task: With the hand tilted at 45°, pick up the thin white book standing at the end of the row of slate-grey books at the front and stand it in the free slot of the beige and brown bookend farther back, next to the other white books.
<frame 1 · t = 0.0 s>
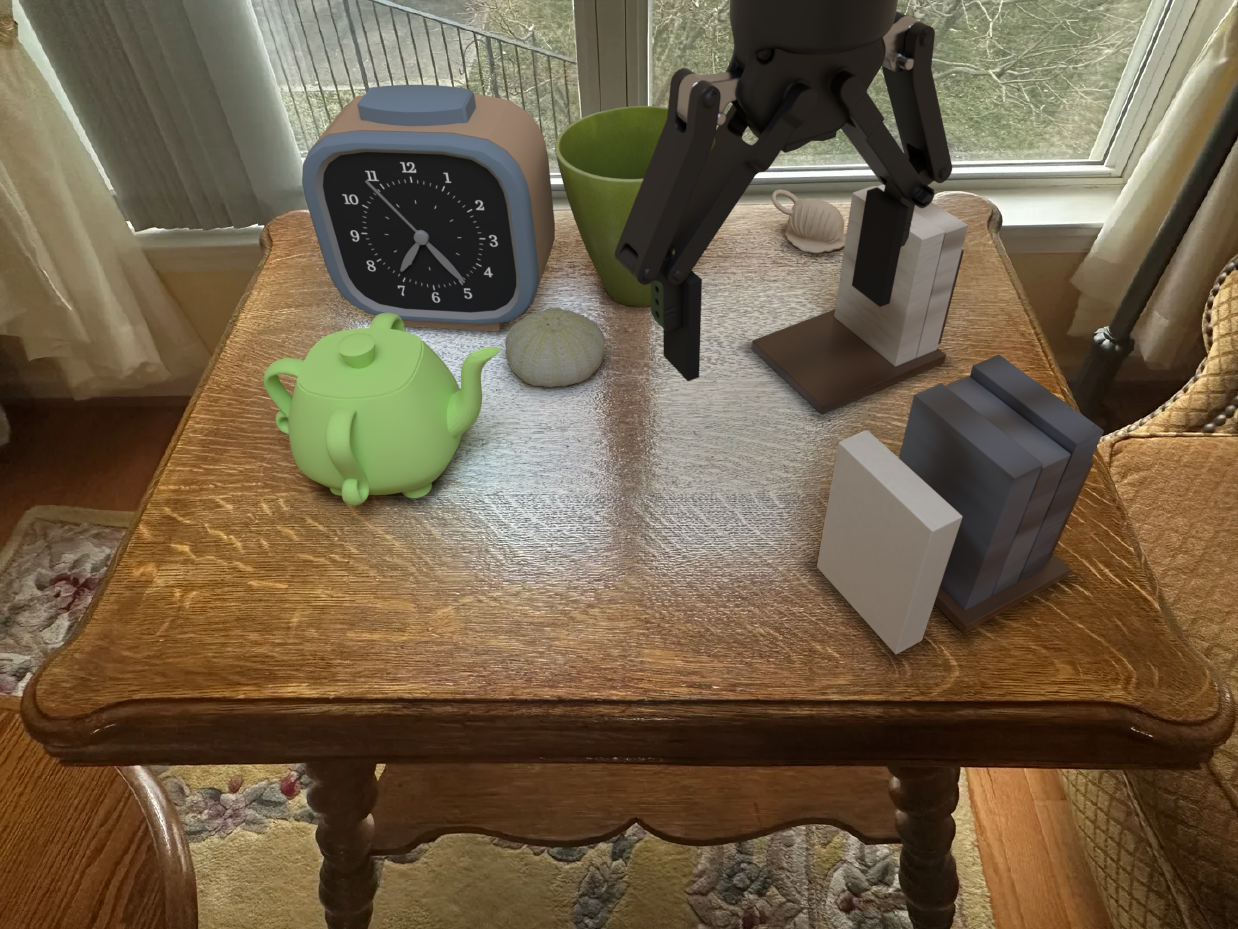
hand: (779, 329, 56), 22 cm above the table, tool pointing down, fingers open, 13 cm apart
decorative ornament: (808, 242, 103), on the table
beige and brown bookend: (846, 355, 88), on the table
white book: (867, 602, 68), on the table
grey rack: (962, 554, 71), on the table
sea urchin shell: (556, 365, 89), on the table
flower pot: (640, 288, 98), on the table
teapot: (403, 461, 81), on the table
alarm clock: (453, 307, 96), on the table
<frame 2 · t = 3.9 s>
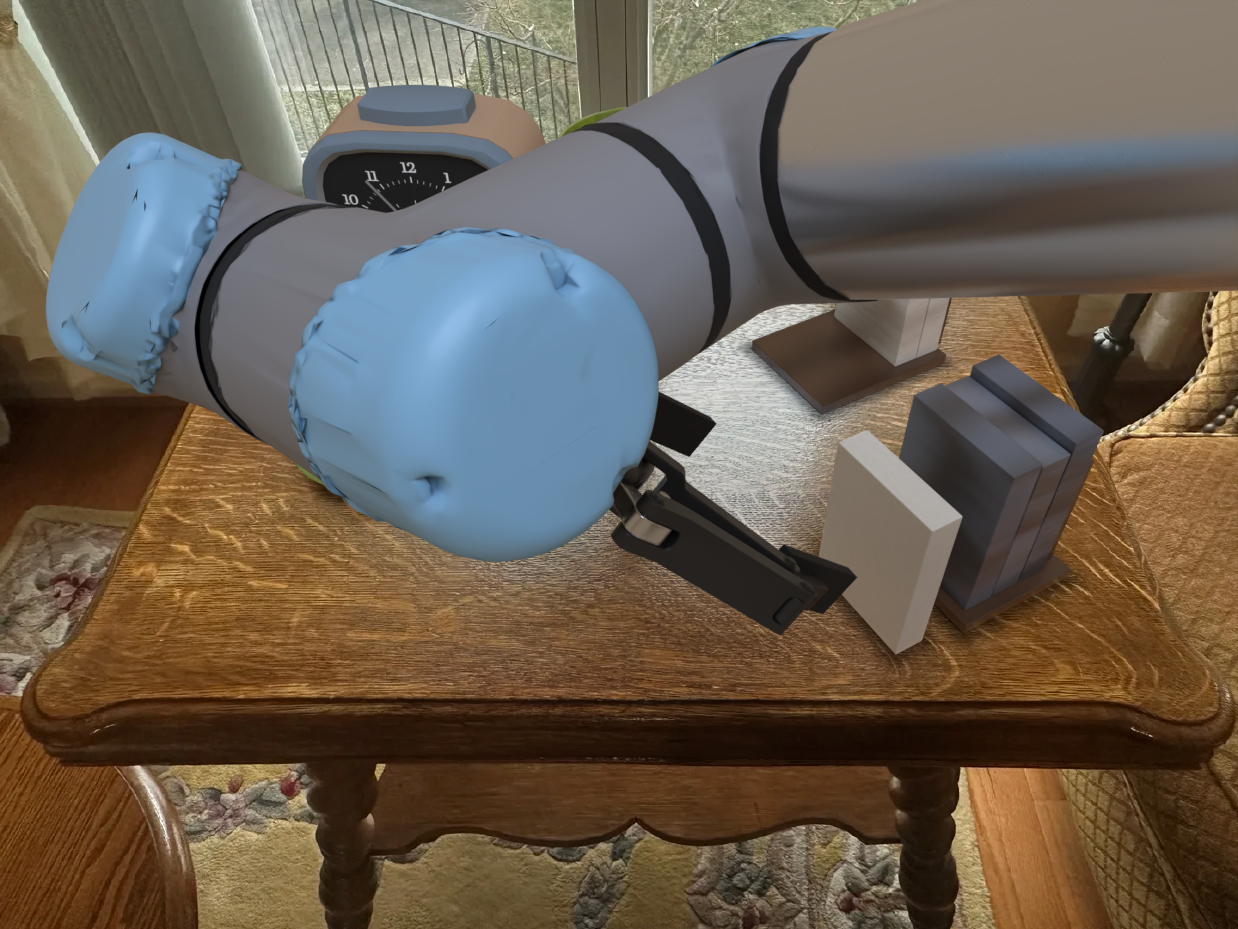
hand: (762, 508, 54), 16 cm above the table, tool tilted 45°, fingers open, 13 cm apart
nothing on the table moved.
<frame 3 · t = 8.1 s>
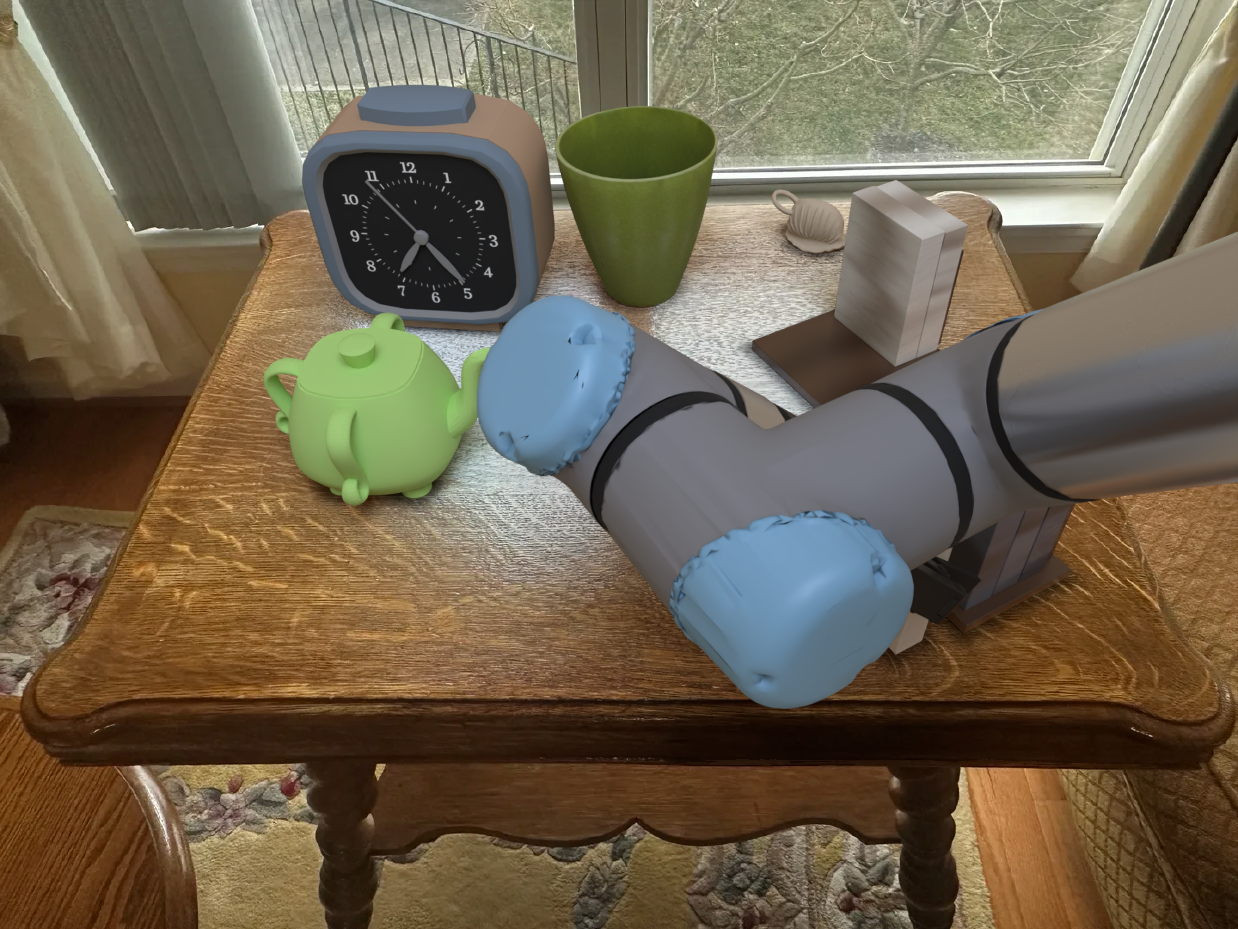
hand: (913, 542, 66), 5 cm above the table, tool tilted 45°, fingers closed on white book, 9 cm apart
white book: (867, 602, 68), on the table, touching gripper
everything else where it was.
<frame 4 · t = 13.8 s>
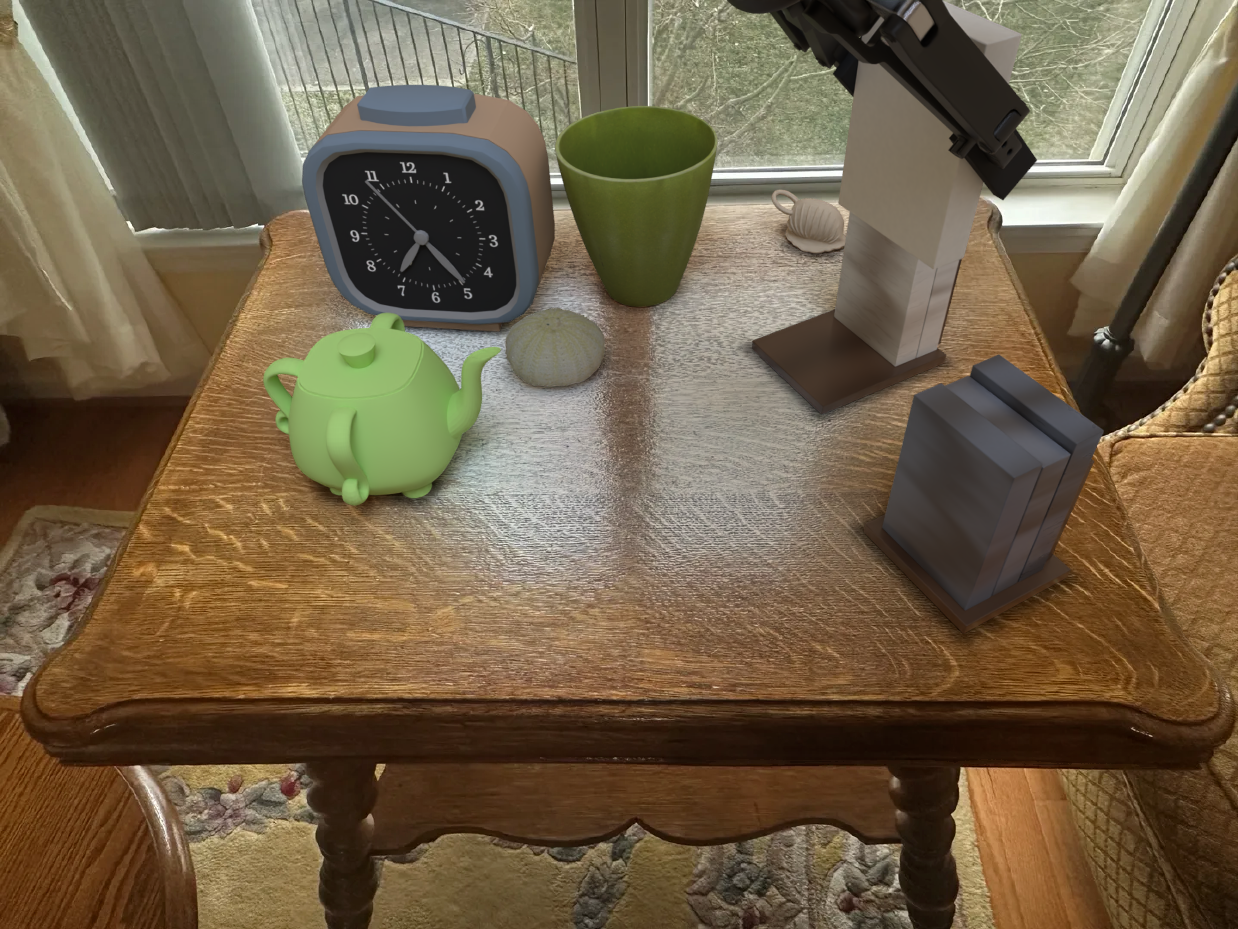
hand: (954, 143, 56), 29 cm above the table, tool tilted 45°, fingers closed on white book, 9 cm apart
white book: (898, 230, 58), point 24 cm above the table, touching gripper
everything else where it was.
when the fingers open (13 cm above the table, at t = 20.0 s): white book drops 5 cm, resting on beige and brown bookend.
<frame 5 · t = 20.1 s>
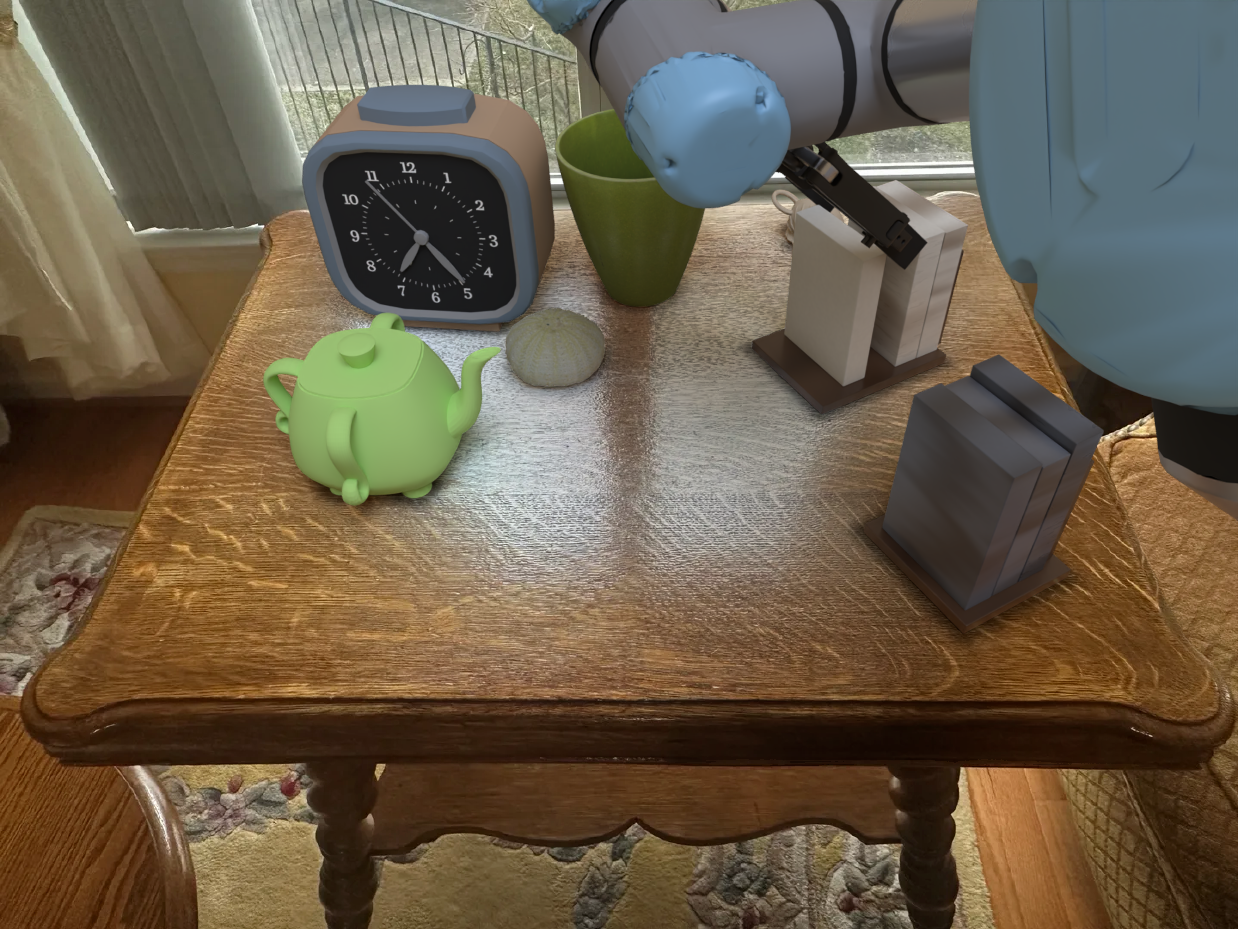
hand: (873, 225, 79), 13 cm above the table, tool tilted 45°, fingers open, 9 cm apart
white book: (823, 355, 87), point 1 cm above the table, touching beige and brown bookend
everything else where it was.
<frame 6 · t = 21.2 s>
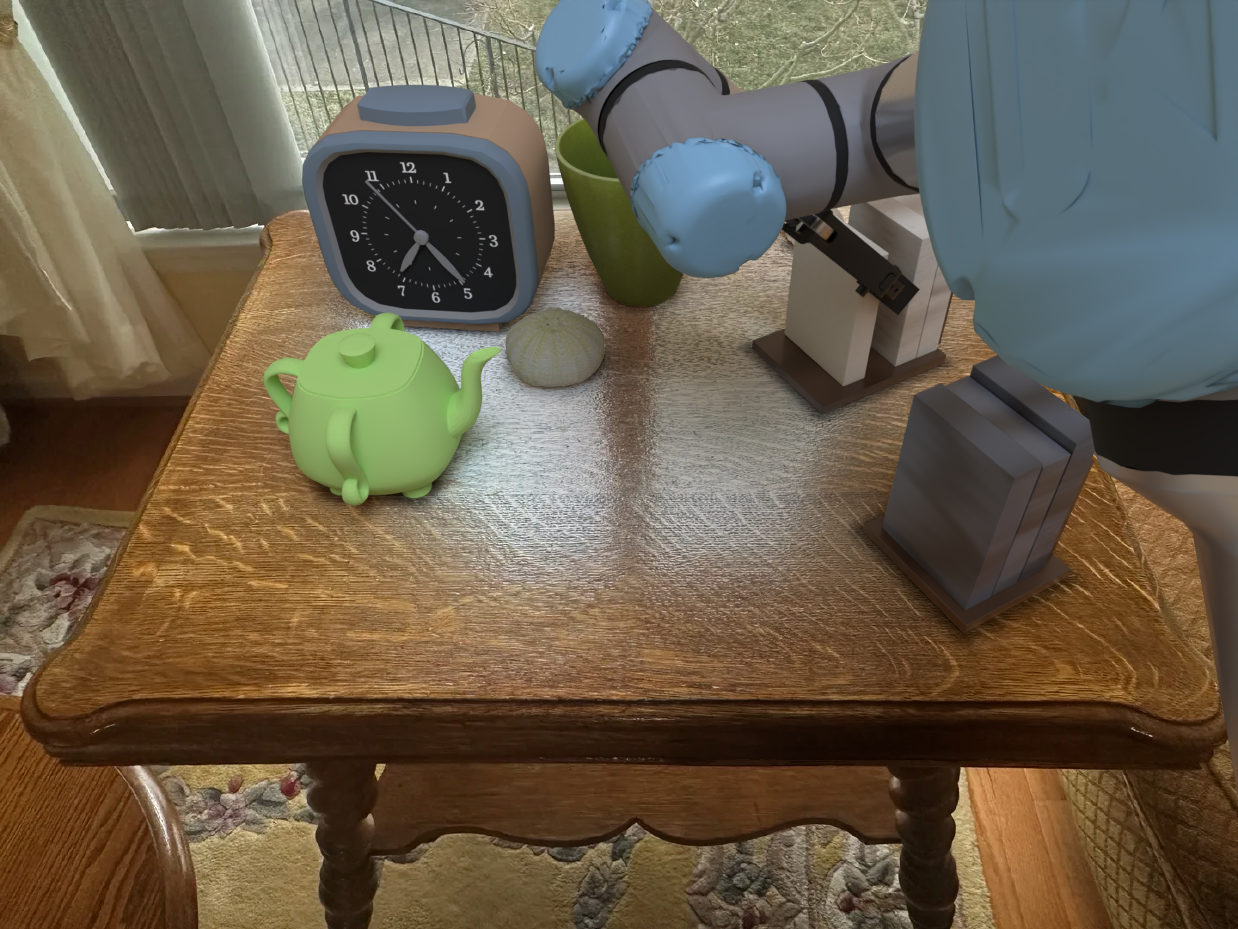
hand: (868, 271, 82), 9 cm above the table, tool tilted 45°, fingers open, 9 cm apart
nothing on the table moved.
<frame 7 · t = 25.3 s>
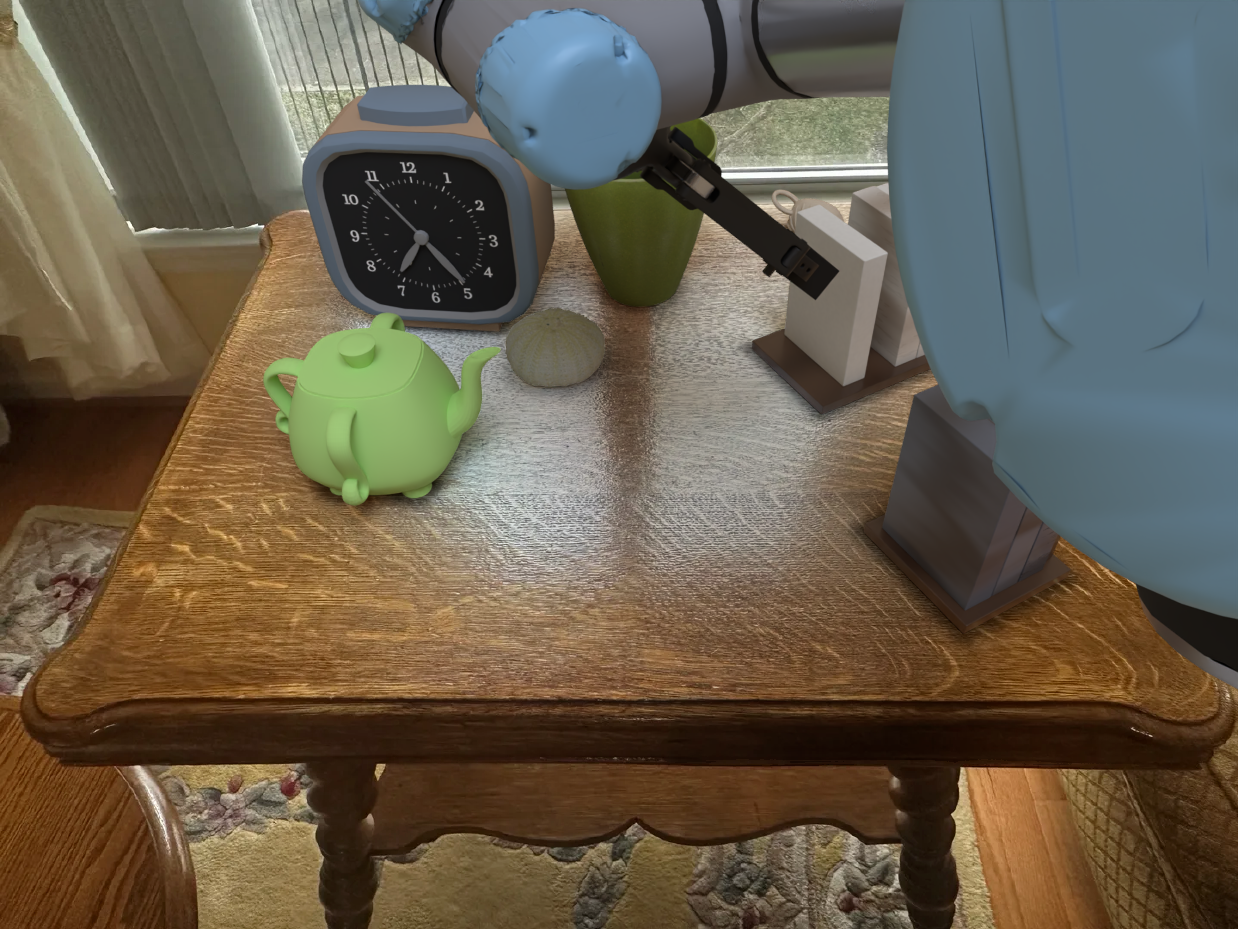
hand: (772, 241, 74), 16 cm above the table, tool tilted 45°, fingers open, 13 cm apart
nothing on the table moved.
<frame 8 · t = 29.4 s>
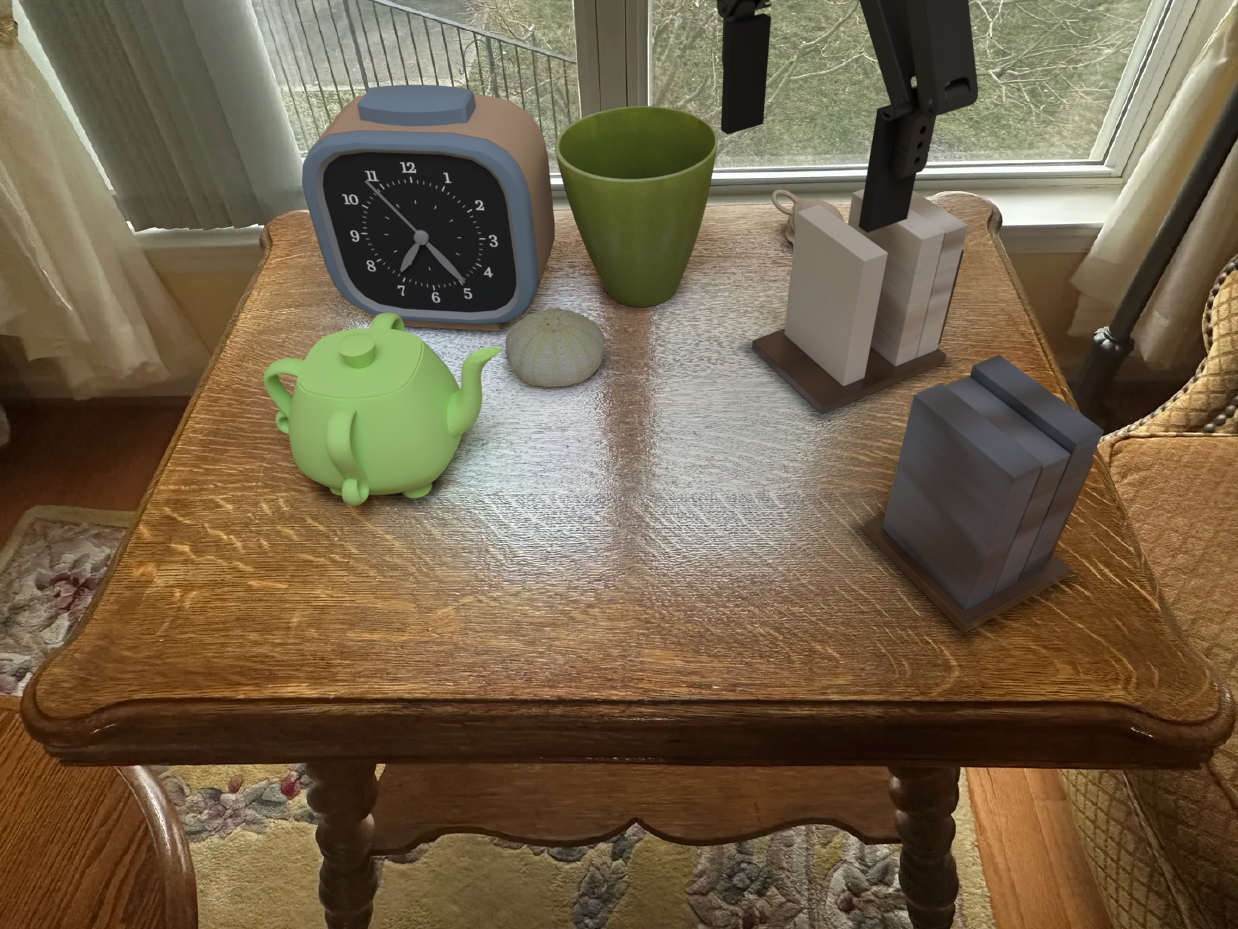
hand: (806, 171, 55), 29 cm above the table, tool pointing down, fingers open, 13 cm apart
nothing on the table moved.
at the end: white book 0.2 cm from the target spot on the beige and brown bookend, point 1.0 cm above the beige and brown bookend's base; white book tilted 0°; the gripper is holding nothing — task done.
